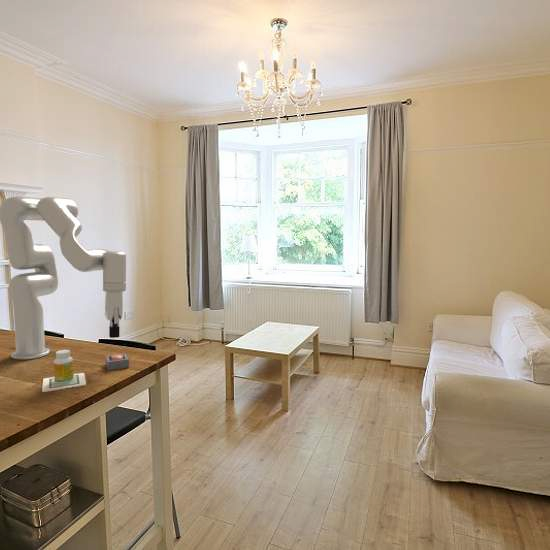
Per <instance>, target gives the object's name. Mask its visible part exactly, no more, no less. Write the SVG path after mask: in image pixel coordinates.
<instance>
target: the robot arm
mask: <svg viewBox="0 0 550 550" xmlns="http://www.w3.org/2000/svg"><path fill="white" fill-rule="evenodd" d="M78 214H79V208H78V206H77V204H76V203H75V202H74V201H73V200H71V199H69V198H65V197H57V196H55V197H54V196H47V197H43V198H41V197H40V198H39V197H31V196H18V195H17V196H10V197H7V198H6V199H4V200H3V201H2V202H1V204H0V224H1V227H2V230H3V234H4V238H5V244H6V250H7V256H8V260H9V265H10V266H11V267H12V268H13V269H15V270H19V271H25V270H34V271H33V272H24V273H20V274H16V275H15V276H13V277H11V279H10V280H9V282H8V292H9V294H10V297H11V302H12V308H13V323H14V324H13V325H14V337H15V339H14V340H15V341H14V342H15V351H13V352H12V353H11V356H10V357H11V358H12V359H14V360H24V361H25V360H33V359H38V358H41V357H45V356H47V355H49V353H50V351H51V350H50V348H49V347H45V346H46V343H45V325H44V324H45V322H44V311H43V310H44V309H43V305H42V304H41V302H40V301H39V299H38V297H39V298H40V297H43V296H48V295H51V294H54V293H56V291H57V289H58V286H59V279H58V278H59V277H58V271H57V266H56V265H57V264H56V260H55V256H54V253H53V251H52V249H51V247H49V246H48V245H46V244H43V243H34V240H33V235H32V231H31V229H30V228H29V226H28V225H27V224H26V223H25V221H44V222H45V223H46V224H47V225H48V226H49V228H50V229H52V231H53V232H54V233H55V234H56V236H58V238H59V247H60V252H61V254H62V256H63V257H64V258H65V260H66V261H67V262H68V263H69V264H70V265H71V266H72V267H73V268H74V269H75V270H77V271H79V272H81V273H88V272H89V273H90V272H95V271H102V291H103V292H105V298H104V299H105V301H104V304H105V307H104V316H105V319H106V320H107V321H109V326H108V327H109V328H108V329H109V330H108V331H109V333H108V336H109V338H110V339H114V338H115V339H116V338H120V321H121V320H122V319H123V312H124V311H123V310H124V309H123V307H124V305H123V303H124V302H123V300H124V299H123V298H124V297H123V295H124V294H123V293H124V292H126V291H127V254H126V253H125V252H123V251H118V250H115V251H114V250H109V249H104V248H103V249H102V248H97V249H96V248H94V249H93V248H92V249H85V248H83V246H81V245H80V243H79V242H78V241H77V239H76V238H77V237H78V236H79V235H80V234H81V232H82V230H83V226H82V224H81V223H80V221H79V220H78V219H77V217H78Z"/></svg>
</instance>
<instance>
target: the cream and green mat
mask: <svg viewBox="0 0 550 550" xmlns="http://www.w3.org/2000/svg"><path fill="white" fill-rule="evenodd" d="M83 386H84V387H85V386H87V381H86V374H85V372H81V373H80V372H79V373H73V380H72V381H71V382H69V383H64V384H58V383H55V379H54V376H51V377H44V378H43V379H42V388H41V393H46V392H53V391H58V390H59V391H60V390H65V389H66V388H67V389H71V388H72V387H73V388H79V387H83ZM67 389H66V390H67Z"/></svg>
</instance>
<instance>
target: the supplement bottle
mask: <svg viewBox="0 0 550 550" xmlns="http://www.w3.org/2000/svg"><path fill="white" fill-rule="evenodd" d="M53 371H54V372H53V374H54V376H53V377H54V379H55V383H58V384H64V383H69V382H71V381H72V380H73V374H74V360H73V357H72V356H71V350H70V349H60V350H57V351H56V352H55V359H54V360H53Z"/></svg>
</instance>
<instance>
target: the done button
mask: <svg viewBox="0 0 550 550" xmlns="http://www.w3.org/2000/svg"><path fill="white" fill-rule="evenodd" d="M113 355H114V356H112V355H111V356H112V357H111V361H113V360H121V359H123V355H119V354H113Z"/></svg>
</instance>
